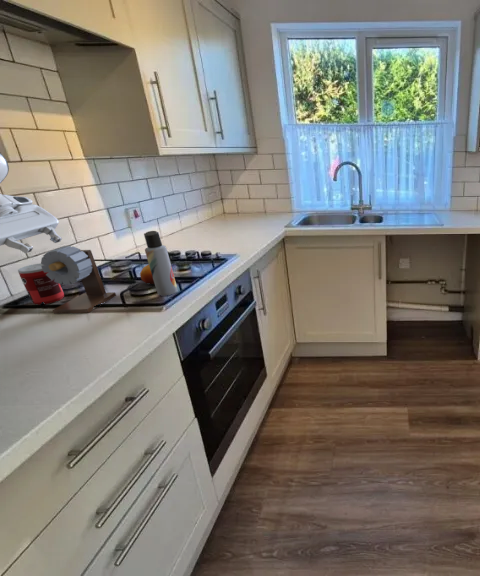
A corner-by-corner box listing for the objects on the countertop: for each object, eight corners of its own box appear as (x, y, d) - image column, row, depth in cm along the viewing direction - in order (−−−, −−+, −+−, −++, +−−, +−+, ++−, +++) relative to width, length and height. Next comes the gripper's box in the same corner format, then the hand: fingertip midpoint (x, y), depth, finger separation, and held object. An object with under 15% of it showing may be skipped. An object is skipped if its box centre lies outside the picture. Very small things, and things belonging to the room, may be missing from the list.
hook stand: (53, 313, 104) (31, 262, 98) (85, 296, 115) (67, 249, 109) (88, 312, 104) (68, 262, 98) (116, 295, 115) (100, 249, 109)
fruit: (162, 283, 120) (145, 263, 118) (147, 293, 123) (131, 274, 121) (178, 274, 127) (163, 255, 125) (164, 284, 130) (149, 266, 128)
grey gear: (49, 285, 103) (34, 252, 99) (63, 279, 107) (50, 246, 103) (84, 283, 103) (71, 250, 99) (97, 277, 107) (84, 245, 103)
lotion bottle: (179, 288, 119) (163, 228, 112) (176, 294, 115) (159, 233, 107) (159, 291, 118) (142, 230, 110) (156, 297, 113) (137, 235, 105)
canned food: (42, 296, 116) (28, 264, 112) (70, 293, 117) (57, 261, 113) (25, 306, 109) (10, 272, 105) (55, 303, 110) (41, 270, 106)
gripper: (-44, 210, 86) (14, 248, 90) (33, 196, 105) (78, 228, 108) (-53, 228, 88) (4, 266, 92) (24, 211, 106) (69, 243, 110)
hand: (45, 245), depth 100 cm, fingers open, 8 cm apart
